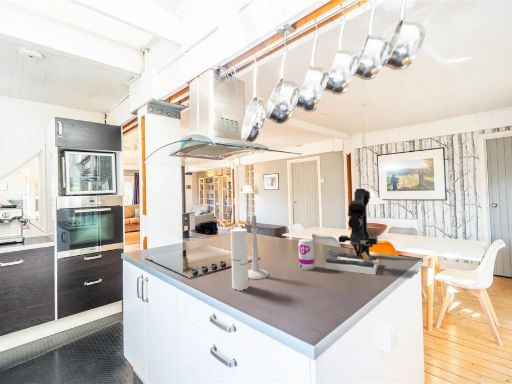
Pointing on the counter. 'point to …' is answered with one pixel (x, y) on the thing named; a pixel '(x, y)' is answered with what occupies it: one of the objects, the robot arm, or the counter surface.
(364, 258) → the orange brick
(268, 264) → the counter surface
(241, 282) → the cylindrical container
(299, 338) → the counter surface
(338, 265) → the white tray
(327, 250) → the paddle grey
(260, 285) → the counter surface
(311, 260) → the supplement can
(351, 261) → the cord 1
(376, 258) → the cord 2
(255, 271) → the candlestick
